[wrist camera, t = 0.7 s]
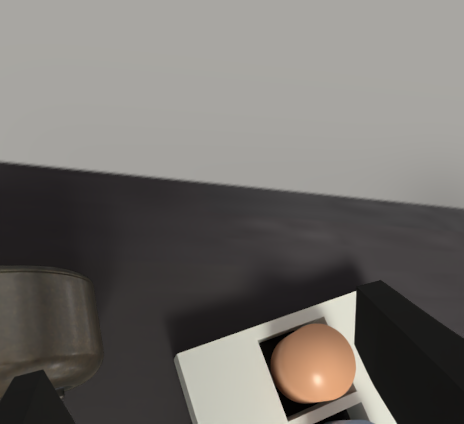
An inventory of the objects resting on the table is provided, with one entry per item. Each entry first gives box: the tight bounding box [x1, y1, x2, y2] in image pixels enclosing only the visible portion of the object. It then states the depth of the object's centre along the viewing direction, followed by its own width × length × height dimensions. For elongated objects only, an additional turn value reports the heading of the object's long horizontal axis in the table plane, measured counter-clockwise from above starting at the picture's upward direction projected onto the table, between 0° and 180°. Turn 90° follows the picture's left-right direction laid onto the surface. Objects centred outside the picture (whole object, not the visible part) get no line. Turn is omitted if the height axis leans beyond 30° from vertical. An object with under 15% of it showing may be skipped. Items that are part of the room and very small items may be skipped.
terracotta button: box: [270, 323, 356, 404], centre depth 25 cm, size 4×4×3 cm
